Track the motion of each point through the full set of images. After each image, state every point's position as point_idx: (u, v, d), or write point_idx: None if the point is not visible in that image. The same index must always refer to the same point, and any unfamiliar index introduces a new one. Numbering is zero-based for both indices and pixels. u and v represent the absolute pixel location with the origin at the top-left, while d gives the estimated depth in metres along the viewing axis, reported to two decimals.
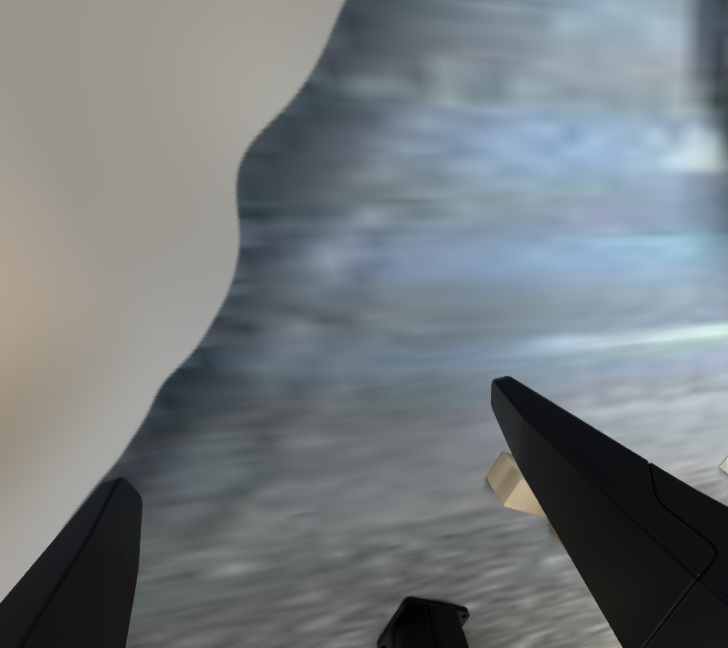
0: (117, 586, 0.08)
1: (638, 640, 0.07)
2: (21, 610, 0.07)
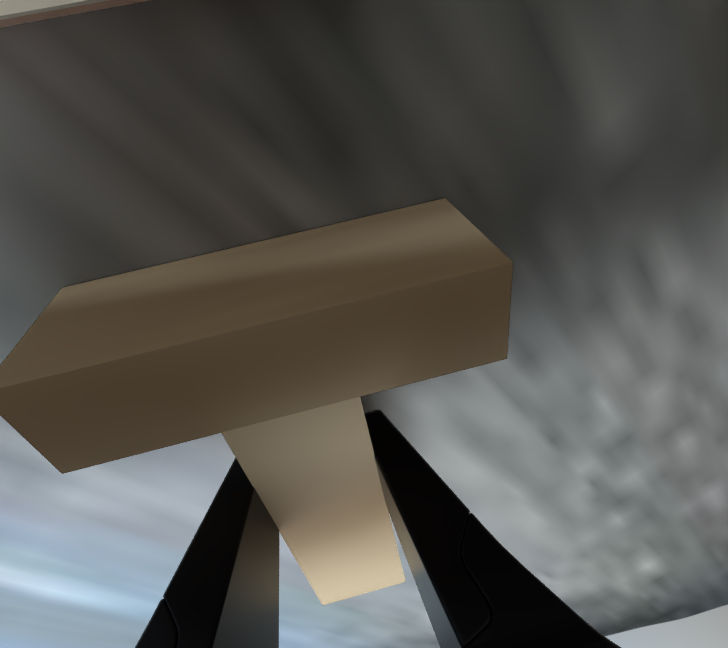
0: (270, 544, 0.09)
1: None
2: (212, 558, 0.07)
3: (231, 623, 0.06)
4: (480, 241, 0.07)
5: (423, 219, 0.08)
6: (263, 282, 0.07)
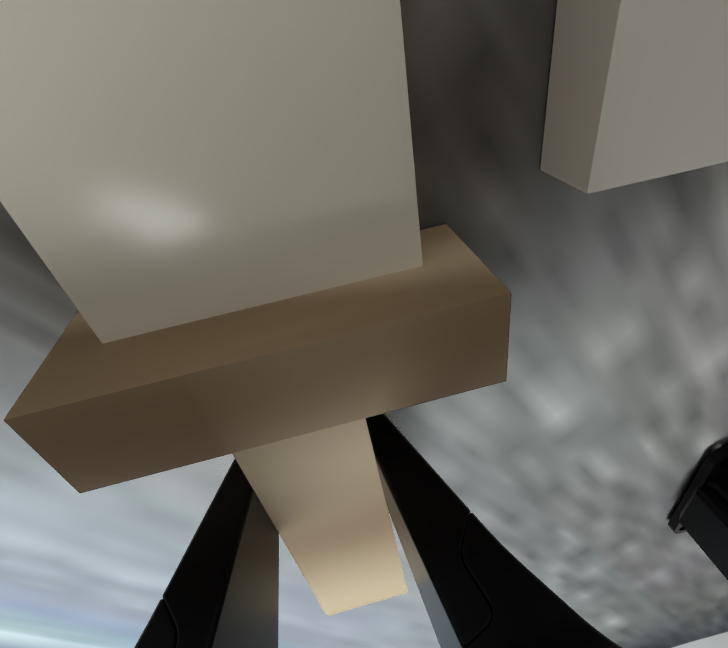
0: (269, 544, 0.09)
1: None
2: (211, 558, 0.07)
3: (230, 623, 0.06)
4: (480, 270, 0.07)
5: (424, 246, 0.08)
6: (272, 309, 0.07)
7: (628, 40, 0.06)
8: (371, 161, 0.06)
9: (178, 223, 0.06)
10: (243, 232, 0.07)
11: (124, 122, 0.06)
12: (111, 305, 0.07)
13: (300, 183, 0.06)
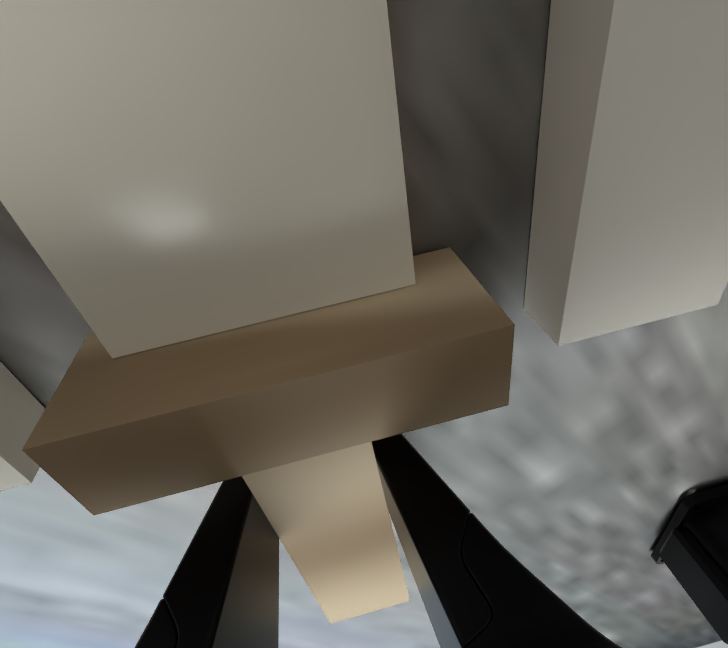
0: (269, 544, 0.09)
1: None
2: (212, 558, 0.07)
3: (231, 623, 0.06)
4: (483, 299, 0.07)
5: (429, 272, 0.09)
6: (281, 336, 0.08)
7: (583, 256, 0.08)
8: (366, 189, 0.07)
9: (185, 247, 0.07)
10: (245, 254, 0.07)
11: (136, 157, 0.06)
12: (121, 323, 0.07)
13: (299, 210, 0.07)
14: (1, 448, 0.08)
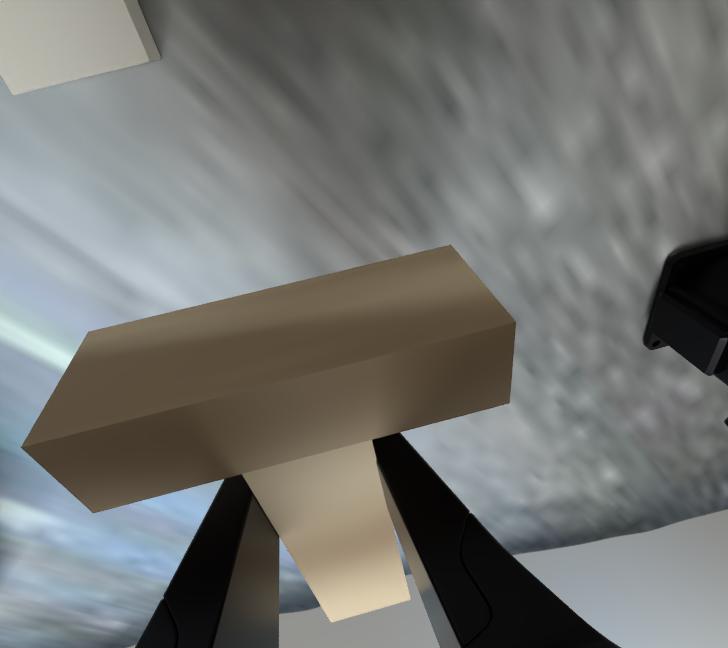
0: (270, 544, 0.09)
1: None
2: (212, 558, 0.07)
3: (231, 623, 0.06)
4: (485, 296, 0.07)
5: (430, 269, 0.08)
6: (281, 334, 0.08)
7: None
8: None
9: None
10: None
11: None
12: None
13: None
14: (132, 18, 0.11)
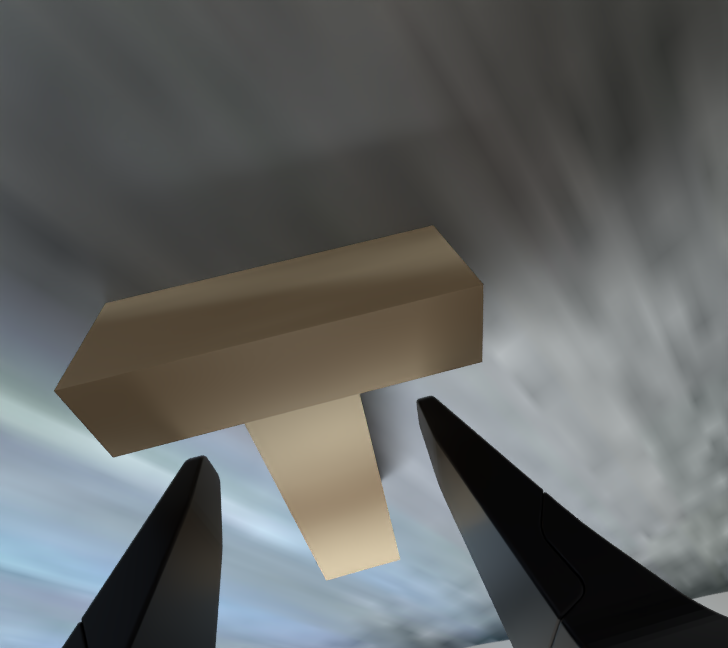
0: (208, 561, 0.09)
1: None
2: (136, 579, 0.07)
3: (148, 647, 0.06)
4: (458, 265, 0.08)
5: (412, 244, 0.09)
6: (279, 299, 0.09)
7: None
8: None
9: None
10: None
11: None
12: None
13: None
14: None
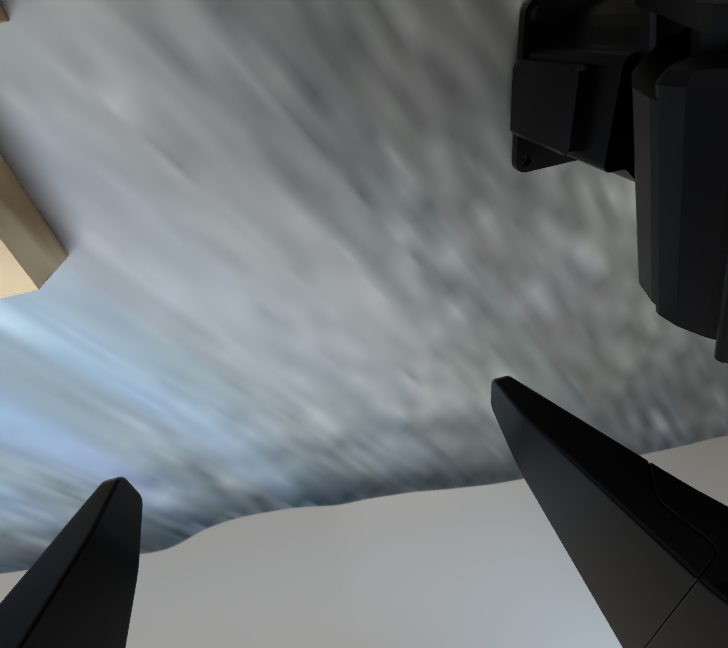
0: (117, 586, 0.08)
1: (638, 640, 0.07)
2: (21, 610, 0.07)
3: None
4: None
5: None
6: None
7: None
8: None
9: None
10: None
11: None
12: None
13: None
14: None
